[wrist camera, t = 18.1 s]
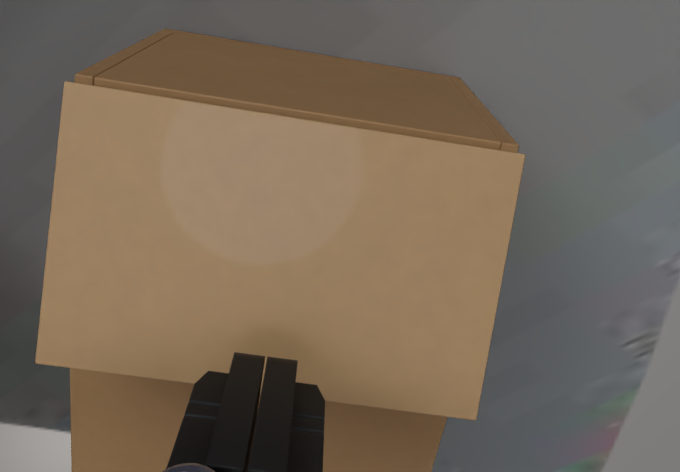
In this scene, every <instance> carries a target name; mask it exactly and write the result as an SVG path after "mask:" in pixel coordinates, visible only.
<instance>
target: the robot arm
mask: <svg viewBox="0 0 680 472" xmlns="http://www.w3.org/2000/svg"><path fill="white" fill-rule="evenodd" d="M264 361H265V356H261V355H253V354H246V353H238V352H234V355H233V359H232V363H231V367H230V371H229V373H222V372H214V371H207V372H206V373H205V374H204V375H203V376H202V377H201V378H200V379H199V380H198V381H197V382H196V383H195V384H194V387H193V390H192V393H191V396H190V399H189V403H188V405H187V408H186V411H185V415H184V417H183V420H182V423H181V426H180V429H179V432H178V435H177V438H176V441H175V444H174V447H173V450H172V453H171V456H170V459H169V462H168V465H167V467H166V469H165V470H164V471H162V472H323V450H324V422H325V421H324V418H325V399H324V397H323V396H322V394H321V392H320V390H319V388H318V386H317V385H314V384H306V383H299V382H296V373H297V364H298V360H291V359H284V358H276V357H269V356H268V357H267V363H266V368H265V374H264V380H263V385H262V391H261V384H262V376H263V369H264ZM260 391H261V396H260ZM259 398H260V402H259ZM258 406H259V408H258Z"/></svg>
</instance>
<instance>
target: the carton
mask: <svg viewBox="0 0 680 472" xmlns="http://www.w3.org/2000/svg"><path fill="white" fill-rule="evenodd" d="M75 83H81V84H87V85H93V86H100V87H106V88H112V89H119V90H125V91H131V92H137V93H144V94H150V95H156V96H162V97H169V98H175V99H181V100H187V101H194V102H200V103H206V104H213V105H219V106H225V107H231V108H238V109H244V110H250V111H256V112H263V113H269V114H275V115H282V116H288V117H294V118H300V119H307V120H313V121H319V122H325V123H332V124H338V125H344V126H351V127H357V128H363V129H369V130H376V131H382V132H388V133H394V134H401V135H407V136H413V137H419V138H426V139H432V140H438V141H445V142H451V143H457V144H463V145H470V146H476V147H482V148H488V149H495V150H501V151H507V152H514V153H517V152H518V148H519V145H518V144H517V143H516V141H515V140H514V139H513V138H512V137H511V136H510V135H509V133H508V132H507V131H506V130H505V129H504V128H503V127H502V125H501V124H500V123H499V122H498V121H497V120H496V119H495V117H494V116H493V115H492V114H491V113H490V112H489V111H488V109H487V108H486V107H485V106H484V105H483V104H482V103H481V101H480V100H479V99H478V98H477V97H476V96H475V95H474V93H473V92H472V91H471V90H470V89H469V88H468V87H467V85H466V84H465V83H464V82H463V81H462V80H461V79H460V78H459V77H453V76H447V75H441V74H435V73H429V72H423V71H417V70H411V69H405V68H399V67H393V66H387V65H381V64H375V63H369V62H363V61H357V60H351V59H345V58H339V57H333V56H327V55H321V54H315V53H309V52H303V51H297V50H291V49H285V48H279V47H273V46H267V45H261V44H255V43H249V42H243V41H237V40H231V39H225V38H219V37H213V36H207V35H202V34H196V33H190V32H184V31H178V30H172V29H163V30H161V31H159V32H157V33H155V34H153V35H151V36H149V37H147V38H145V39H143V40H141V41H140V42H138V43H136V44H134V45H132V46H130V47H128V48H126V49H124V50H122V51H120V52H118V53H116V54H114V55H112V56H110V57H108V58H106V59H104V60H102V61H100V62H98V63H96V64H94V65H92V66H90V67H88V68H86V69H84V70H82V71H80V72H78V73H76V74H75ZM193 387H194V384H190V383H182V382H174V381H167V380H159V379H151V378H143V377H136V376H128V375H120V374H113V373H105V372H97V371H89V370H82V369H74V368H70V402H71V456H72V472H162V471H164V470H165V469H166V467H167V465H168V462H169V459H170V456H171V453H172V450H173V447H174V444H175V441H176V438H177V435H178V432H179V429H180V426H181V423H182V420H183V417H184V415H185V411H186V408H187V405H188V403H189V399H190V396H191V393H192V390H193ZM260 396H261V393H260ZM259 402H260V398H259ZM258 408H259V406H258ZM446 420H447V417H445V416H437V415H429V414H422V413H414V412H406V411H398V410H391V409H383V408H375V407H368V406H360V405H352V404H344V403H337V402H329V401H325V418H324V421H325V422H324V450H323V472H431V471H432V467H433V464H434V461H435V457H436V454H437V450H438V447H439V444H440V440H441V437H442V434H443V430H444V427H445V423H446Z"/></svg>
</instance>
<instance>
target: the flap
mask: <svg viewBox="0 0 680 472" xmlns="http://www.w3.org/2000/svg"><path fill="white" fill-rule="evenodd" d="M524 160H525V155H524V154H520V153H514V152H507V151H501V150H495V149H488V148H482V147H476V146H470V145H463V144H457V143H451V142H445V141H438V140H432V139H426V138H419V137H413V136H407V135H401V134H394V133H388V132H382V131H376V130H369V129H363V128H357V127H351V126H344V125H338V124H332V123H325V122H319V121H313V120H307V119H300V118H294V117H288V116H282V115H275V114H269V113H263V112H256V111H250V110H244V109H238V108H231V107H225V106H219V105H213V104H206V103H200V102H194V101H187V100H181V99H175V98H169V97H162V96H156V95H150V94H144V93H137V92H131V91H125V90H119V89H112V88H106V87H100V86H93V85H87V84H81V83H75V82H68V81H65V82H64V89H63V99H62V108H61V118H60V128H59V137H58V147H57V157H56V166H55V176H54V186H53V195H52V205H51V215H50V224H49V234H48V244H47V253H46V263H45V273H44V282H43V292H42V302H41V311H40V321H39V331H38V340H37V350H36V360H35V363H36V364H43V365H51V366H58V367H66V368H74V369H82V370H89V371H97V372H105V373H113V374H120V375H128V376H136V377H143V378H151V379H159V380H167V381H174V382H182V383H190V384H195V383H196V382H197V381H198V380H199V379H200V378H201V377H202V376H203V375H204V374H205V373H206V372H207V371H214V372H222V373H229V371H230V367H231V363H232V359H233V355H234V352H238V353H246V354H253V355H261V356H265V361H264V369H263V376H262V384H261V391H262V385H263V380H264V374H265V368H266V363H267V357H268V356H269V357H276V358H284V359H291V360H298V364H297V373H296V382H299V383H306V384H314V385H317V386H318V388H319V390H320V392H321V394H322V396H323V397H324V399H325V401H329V402H337V403H344V404H352V405H360V406H368V407H375V408H383V409H391V410H398V411H406V412H414V413H422V414H429V415H437V416H445V417H453V418H460V419H468V420H476V418H477V413H478V408H479V402H480V397H481V391H482V386H483V381H484V375H485V370H486V364H487V359H488V354H489V348H490V343H491V337H492V332H493V327H494V321H495V316H496V311H497V305H498V300H499V294H500V289H501V284H502V278H503V273H504V267H505V262H506V257H507V251H508V246H509V240H510V235H511V230H512V224H513V219H514V214H515V208H516V203H517V197H518V192H519V187H520V181H521V176H522V170H523V165H524ZM261 391H260V393H261Z"/></svg>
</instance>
